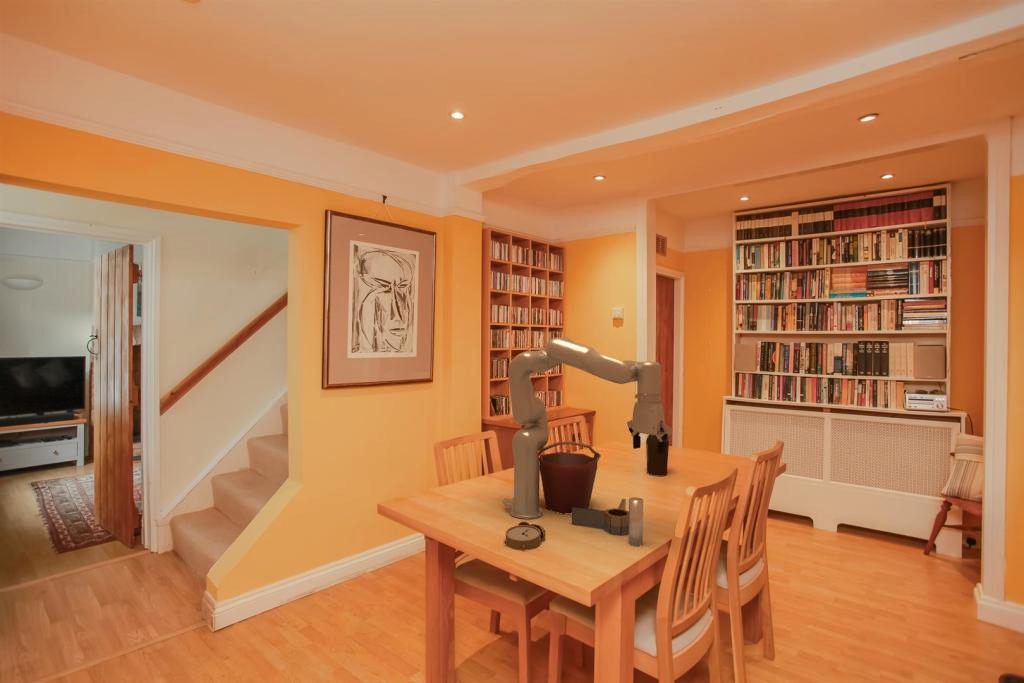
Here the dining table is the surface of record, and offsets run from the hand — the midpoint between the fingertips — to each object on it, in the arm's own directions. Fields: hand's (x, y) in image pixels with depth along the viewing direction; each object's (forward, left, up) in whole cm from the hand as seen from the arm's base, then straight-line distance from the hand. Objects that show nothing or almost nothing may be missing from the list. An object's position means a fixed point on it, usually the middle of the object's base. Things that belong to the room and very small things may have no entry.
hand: (648, 450), depth 167 cm
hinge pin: (-3, -8, -28) cm, 29 cm away
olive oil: (-3, +82, -28) cm, 87 cm away
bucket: (-32, +17, -28) cm, 46 cm away
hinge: (-16, +7, -28) cm, 33 cm away
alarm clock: (-36, -19, -29) cm, 50 cm away
